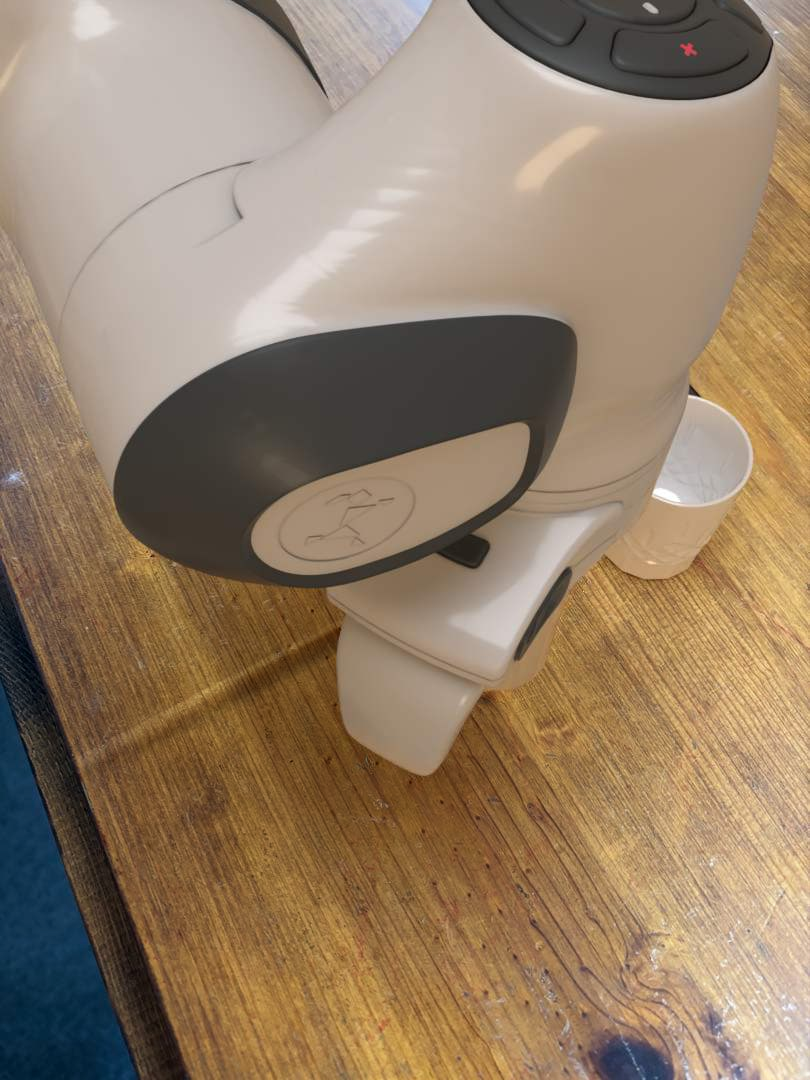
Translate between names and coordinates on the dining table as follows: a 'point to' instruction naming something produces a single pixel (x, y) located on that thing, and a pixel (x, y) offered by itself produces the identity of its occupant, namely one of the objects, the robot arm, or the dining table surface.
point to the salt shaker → (534, 653)
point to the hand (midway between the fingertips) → (499, 610)
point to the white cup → (688, 493)
